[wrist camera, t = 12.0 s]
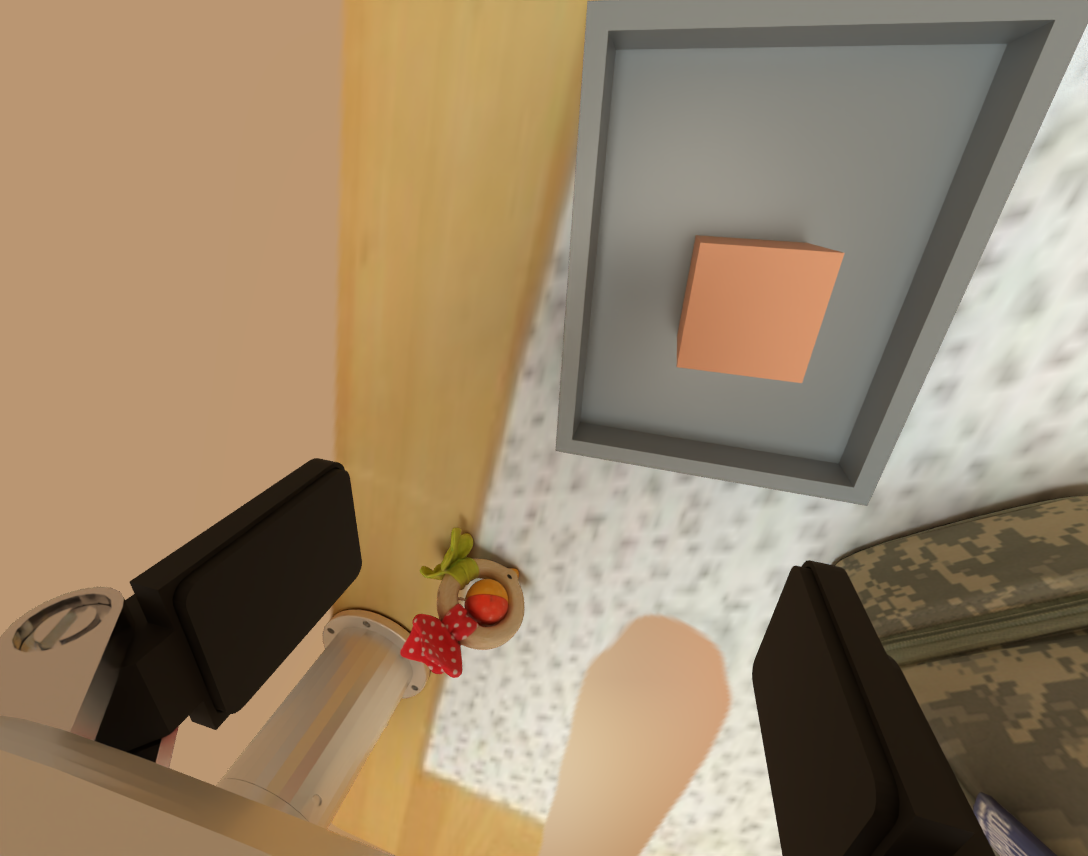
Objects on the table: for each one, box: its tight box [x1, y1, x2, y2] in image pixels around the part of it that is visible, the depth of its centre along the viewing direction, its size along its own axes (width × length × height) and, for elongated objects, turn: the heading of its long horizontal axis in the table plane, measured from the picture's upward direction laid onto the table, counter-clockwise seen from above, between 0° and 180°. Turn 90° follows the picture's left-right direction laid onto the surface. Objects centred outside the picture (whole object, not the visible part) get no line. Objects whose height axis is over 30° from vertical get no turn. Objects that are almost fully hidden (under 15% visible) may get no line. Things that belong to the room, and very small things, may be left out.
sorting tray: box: [556, 0, 1088, 506], centre depth 24 cm, size 22×18×4 cm
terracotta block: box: [677, 235, 845, 383], centre depth 22 cm, size 6×6×6 cm
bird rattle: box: [400, 528, 524, 678], centre depth 36 cm, size 6×11×9 cm
